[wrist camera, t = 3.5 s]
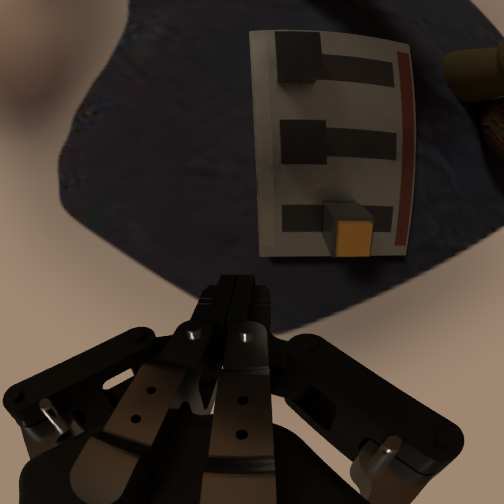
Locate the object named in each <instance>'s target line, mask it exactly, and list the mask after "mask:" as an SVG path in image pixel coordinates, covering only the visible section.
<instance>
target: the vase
mask: <svg viewBox="0 0 504 504" xmlns="http://www.w3.org/2000/svg"><path fill="white" fill-rule="evenodd" d="M480 125H481V132H482V136H483V138H484V141H485V143H486V144H487V146H488V148H489V149H490V150H491V151H492V152H493V153H494V154H495V155H496V156H497V157H499V158H500V159H502V160H504V97H503V98H497V99H494V100H492V101H491V102H489V103H488V104H487V105H486V106H485V108H484V109H483V112H482V114H481V120H480Z"/></svg>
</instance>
